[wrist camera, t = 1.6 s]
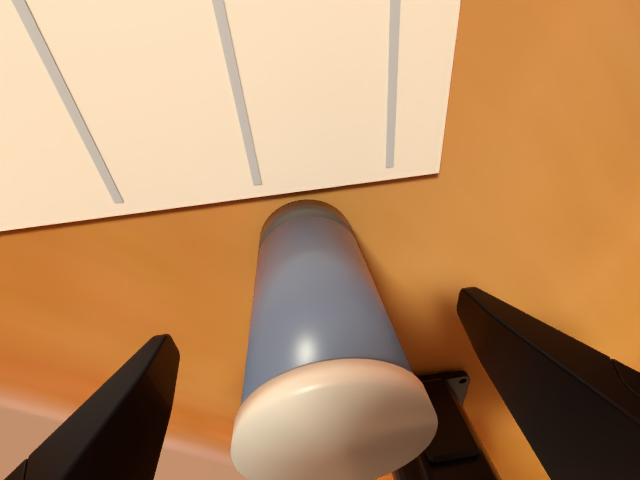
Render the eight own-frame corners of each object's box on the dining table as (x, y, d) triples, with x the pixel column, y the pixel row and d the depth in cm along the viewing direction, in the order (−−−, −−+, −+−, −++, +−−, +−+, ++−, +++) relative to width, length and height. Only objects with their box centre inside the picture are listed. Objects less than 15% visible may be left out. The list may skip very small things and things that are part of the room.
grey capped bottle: (355, 272, 14) (426, 471, 7) (267, 285, 14) (255, 504, 7) (352, 190, 12) (452, 366, 5) (247, 204, 12) (201, 408, 5)
